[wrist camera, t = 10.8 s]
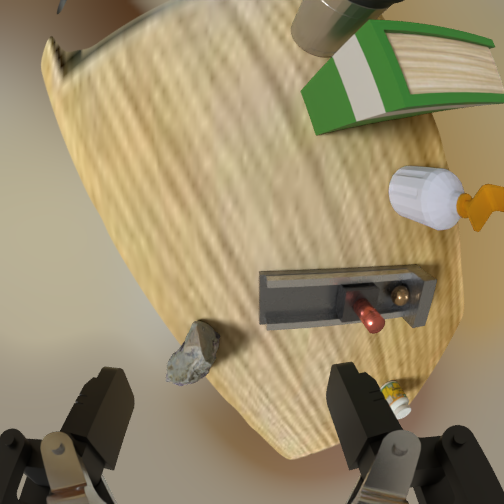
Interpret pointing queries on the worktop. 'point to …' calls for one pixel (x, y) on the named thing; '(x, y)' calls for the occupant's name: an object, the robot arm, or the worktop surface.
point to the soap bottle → (441, 198)
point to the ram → (359, 305)
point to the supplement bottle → (396, 399)
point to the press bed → (326, 290)
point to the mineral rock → (193, 355)
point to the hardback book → (401, 75)
